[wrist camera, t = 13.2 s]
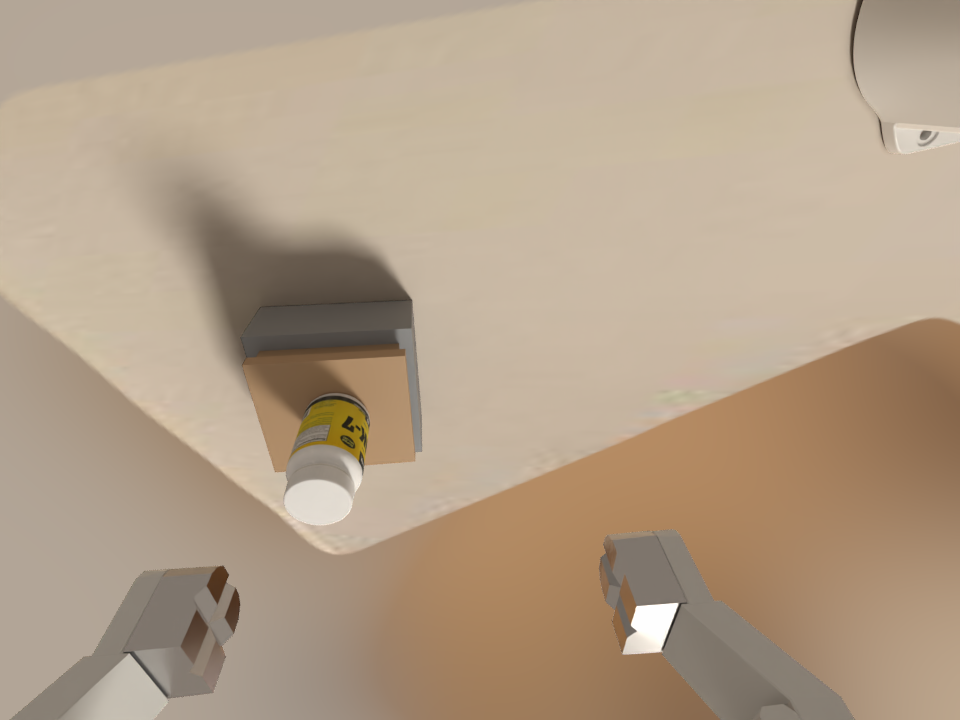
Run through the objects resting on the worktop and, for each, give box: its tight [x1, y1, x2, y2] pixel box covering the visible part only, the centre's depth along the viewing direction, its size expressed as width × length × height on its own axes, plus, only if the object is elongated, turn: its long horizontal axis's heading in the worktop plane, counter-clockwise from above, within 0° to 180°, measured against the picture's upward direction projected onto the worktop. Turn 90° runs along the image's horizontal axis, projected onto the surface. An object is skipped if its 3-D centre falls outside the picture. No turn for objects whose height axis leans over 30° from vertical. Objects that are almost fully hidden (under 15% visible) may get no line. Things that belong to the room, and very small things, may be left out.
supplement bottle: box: [284, 393, 370, 525], centre depth 32 cm, size 5×5×8 cm
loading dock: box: [241, 300, 422, 472], centre depth 38 cm, size 12×12×7 cm
